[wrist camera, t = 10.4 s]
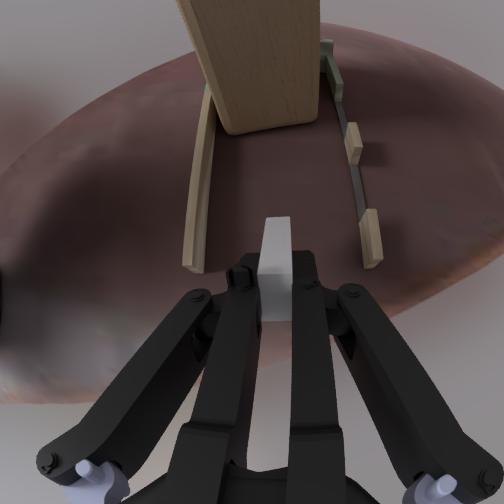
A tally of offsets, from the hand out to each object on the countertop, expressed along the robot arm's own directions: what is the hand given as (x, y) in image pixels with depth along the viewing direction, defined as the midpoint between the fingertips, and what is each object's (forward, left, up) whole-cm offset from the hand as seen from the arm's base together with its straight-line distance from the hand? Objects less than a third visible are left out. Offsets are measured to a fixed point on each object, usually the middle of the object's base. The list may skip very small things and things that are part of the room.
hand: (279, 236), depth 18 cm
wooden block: (-1, +18, -5) cm, 19 cm away
